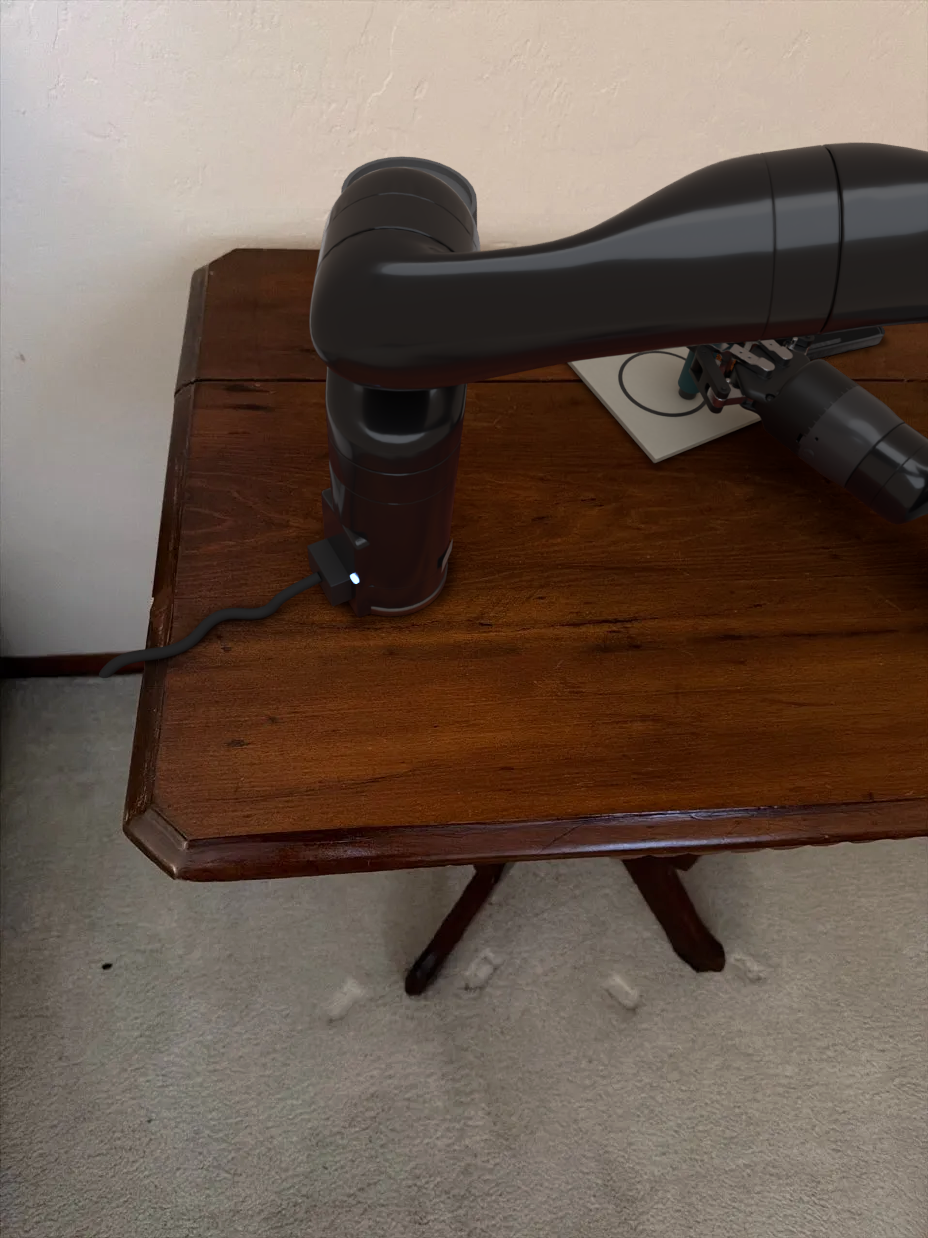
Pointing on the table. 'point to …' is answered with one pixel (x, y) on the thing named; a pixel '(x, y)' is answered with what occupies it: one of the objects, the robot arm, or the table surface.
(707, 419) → the sketch pad
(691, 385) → the marker
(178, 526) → the table surface
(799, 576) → the table surface
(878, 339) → the phone
